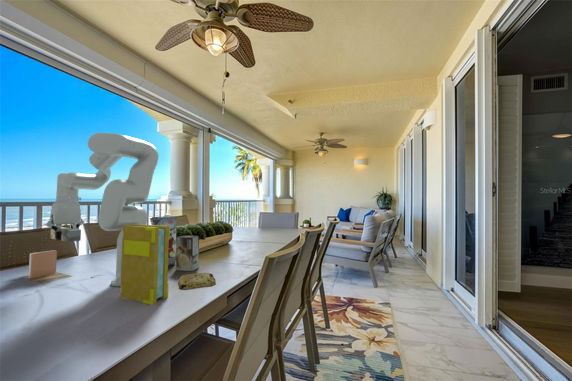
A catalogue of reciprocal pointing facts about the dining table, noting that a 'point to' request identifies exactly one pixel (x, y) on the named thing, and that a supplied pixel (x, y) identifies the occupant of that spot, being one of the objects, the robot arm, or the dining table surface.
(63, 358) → the dining table surface
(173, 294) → the dining table surface
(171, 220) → the juice carton
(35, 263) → the tile
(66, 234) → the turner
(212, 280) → the pastry
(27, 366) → the dining table surface
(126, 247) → the book
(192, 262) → the coffee box
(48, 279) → the board
